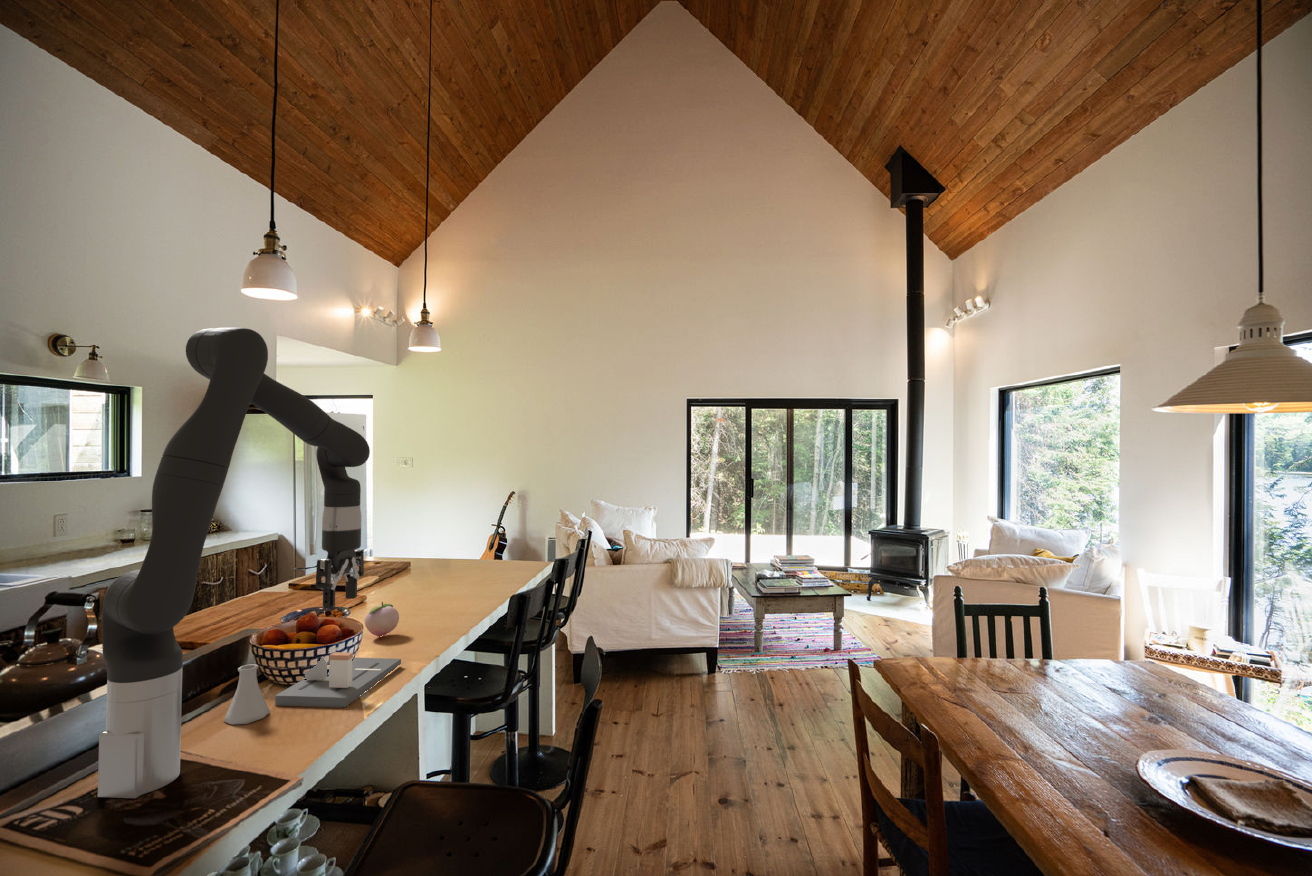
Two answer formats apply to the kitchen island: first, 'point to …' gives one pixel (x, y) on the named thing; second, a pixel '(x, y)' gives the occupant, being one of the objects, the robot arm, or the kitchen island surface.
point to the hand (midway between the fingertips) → (340, 602)
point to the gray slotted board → (322, 695)
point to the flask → (247, 698)
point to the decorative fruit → (382, 619)
